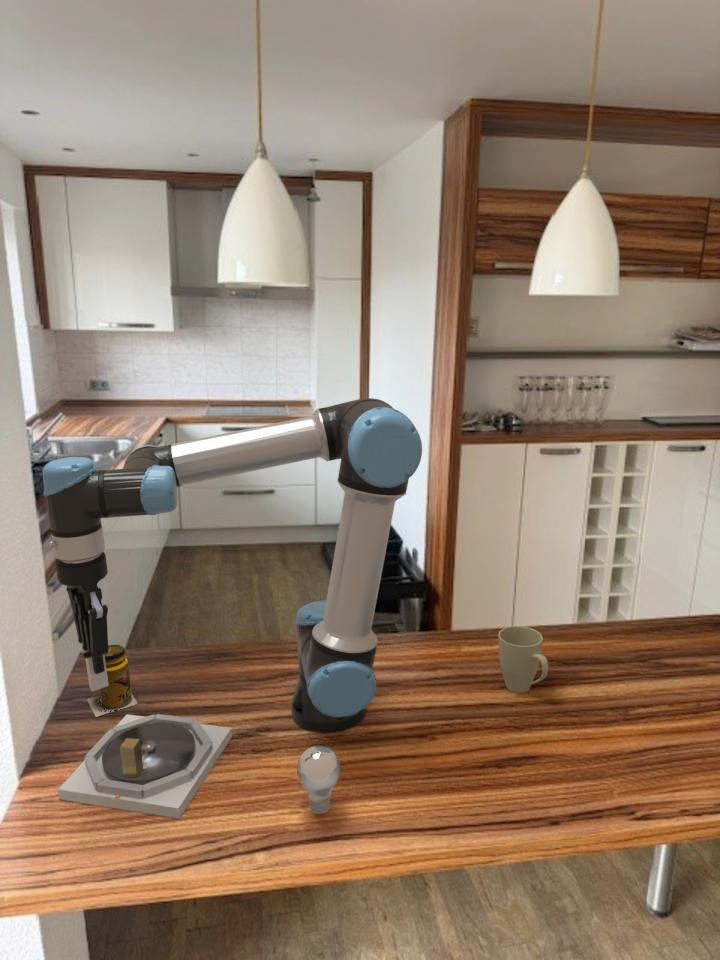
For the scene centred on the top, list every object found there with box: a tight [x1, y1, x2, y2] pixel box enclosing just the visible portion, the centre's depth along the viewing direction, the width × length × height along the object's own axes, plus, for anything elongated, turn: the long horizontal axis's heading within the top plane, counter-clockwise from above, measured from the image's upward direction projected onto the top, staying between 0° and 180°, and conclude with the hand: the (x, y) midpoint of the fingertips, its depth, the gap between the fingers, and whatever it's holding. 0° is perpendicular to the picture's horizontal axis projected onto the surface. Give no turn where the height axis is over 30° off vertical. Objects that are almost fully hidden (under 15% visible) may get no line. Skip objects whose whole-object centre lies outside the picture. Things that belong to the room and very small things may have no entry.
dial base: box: [57, 713, 233, 819], centre depth 128 cm, size 22×22×4 cm
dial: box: [102, 723, 196, 785], centre depth 127 cm, size 16×16×7 cm
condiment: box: [86, 644, 139, 718], centre depth 147 cm, size 7×8×12 cm
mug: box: [498, 625, 549, 694], centre depth 150 cm, size 11×10×12 cm
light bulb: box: [296, 744, 341, 816], centre depth 115 cm, size 7×7×12 cm
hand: (99, 686), depth 120 cm, fingers closed
